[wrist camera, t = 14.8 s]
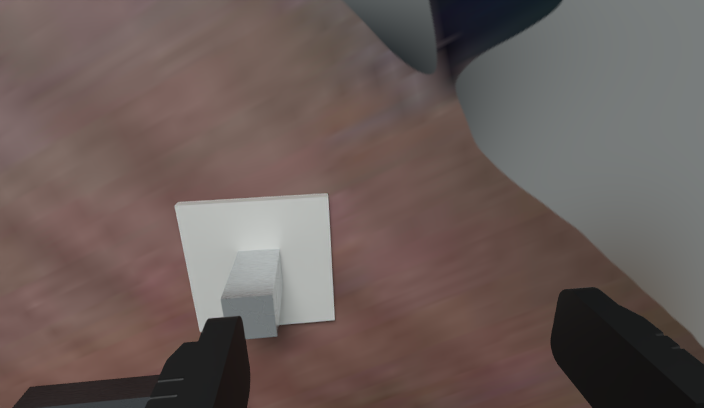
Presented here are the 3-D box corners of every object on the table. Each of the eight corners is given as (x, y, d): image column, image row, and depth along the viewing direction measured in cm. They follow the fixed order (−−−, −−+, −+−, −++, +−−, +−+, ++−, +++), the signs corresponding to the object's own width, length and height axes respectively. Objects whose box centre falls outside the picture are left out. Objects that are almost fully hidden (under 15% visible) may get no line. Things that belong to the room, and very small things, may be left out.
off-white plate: (202, 325, 42) (199, 331, 41) (177, 202, 37) (174, 205, 36) (334, 314, 43) (334, 320, 42) (327, 193, 38) (328, 196, 37)
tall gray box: (242, 286, 40) (227, 340, 32) (237, 251, 38) (220, 299, 31) (283, 283, 40) (277, 336, 33) (279, 248, 39) (272, 295, 31)
